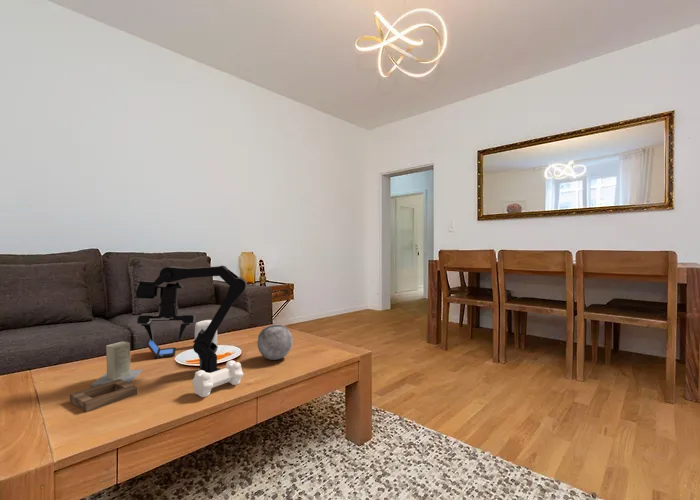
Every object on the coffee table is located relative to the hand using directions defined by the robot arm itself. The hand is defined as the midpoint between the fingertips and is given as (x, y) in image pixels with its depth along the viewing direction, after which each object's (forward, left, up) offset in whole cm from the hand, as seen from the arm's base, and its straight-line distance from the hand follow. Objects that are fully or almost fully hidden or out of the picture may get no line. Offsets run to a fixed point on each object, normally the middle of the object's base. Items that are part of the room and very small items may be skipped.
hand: (166, 340), depth 127 cm
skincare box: (+11, +11, -12) cm, 20 cm away
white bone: (-27, -2, -13) cm, 31 cm away
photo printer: (+20, -31, -13) cm, 38 cm away
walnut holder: (-2, +21, -13) cm, 25 cm away
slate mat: (+12, +11, -13) cm, 21 cm away
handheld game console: (+25, -12, -13) cm, 31 cm away
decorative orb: (-22, -35, -13) cm, 43 cm away
